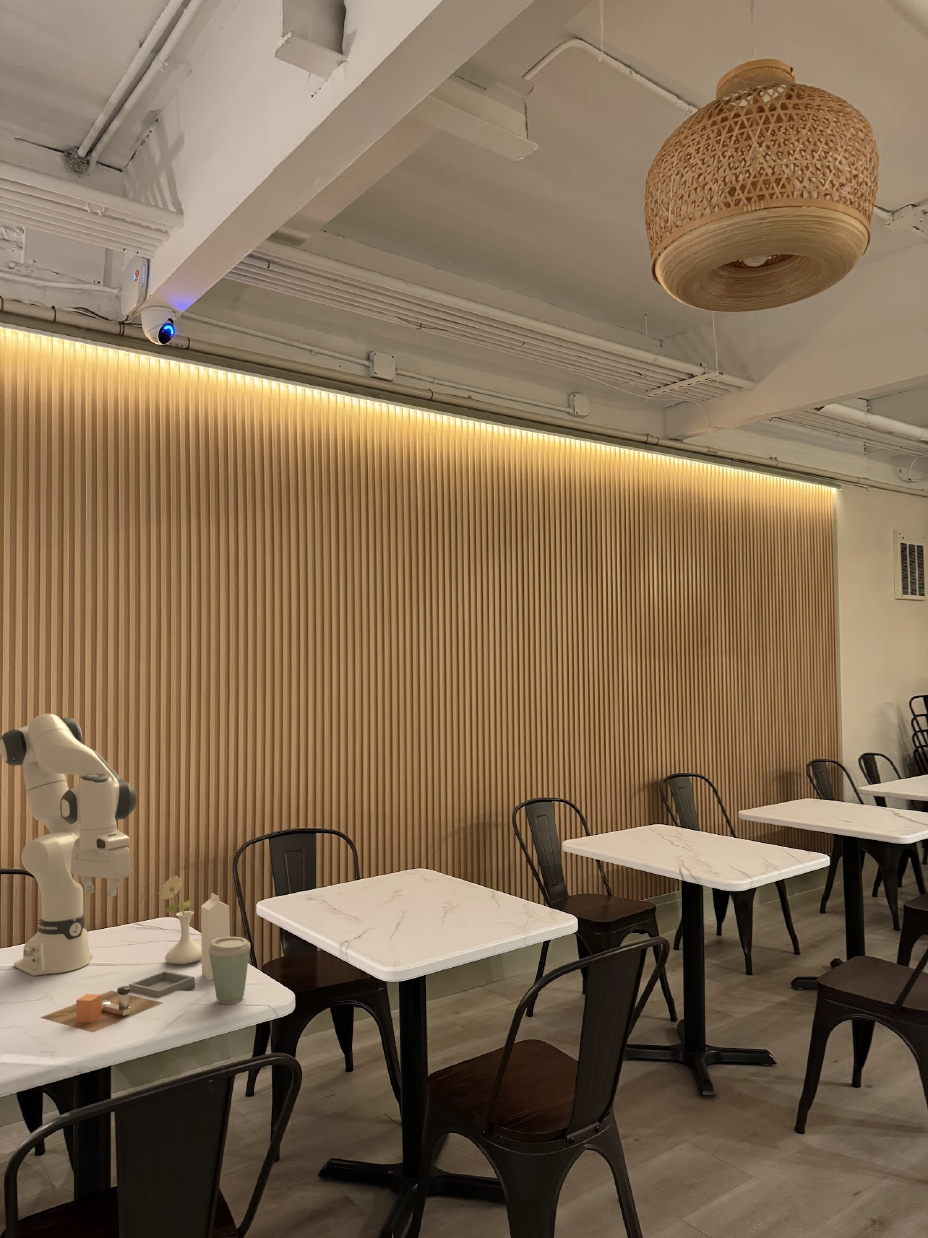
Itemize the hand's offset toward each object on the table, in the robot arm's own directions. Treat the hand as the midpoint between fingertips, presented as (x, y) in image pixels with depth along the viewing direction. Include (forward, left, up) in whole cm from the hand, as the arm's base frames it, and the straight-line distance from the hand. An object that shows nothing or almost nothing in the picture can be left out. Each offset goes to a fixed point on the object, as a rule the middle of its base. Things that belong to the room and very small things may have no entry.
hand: (100, 894), depth 220 cm
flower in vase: (-12, +36, -29) cm, 48 cm away
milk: (+6, +32, -29) cm, 44 cm away
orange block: (+5, -7, -27) cm, 29 cm away
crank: (+7, -2, -27) cm, 28 cm away
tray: (+3, +16, -29) cm, 33 cm away
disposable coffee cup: (+24, +20, -29) cm, 43 cm away
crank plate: (+3, -2, -29) cm, 29 cm away
